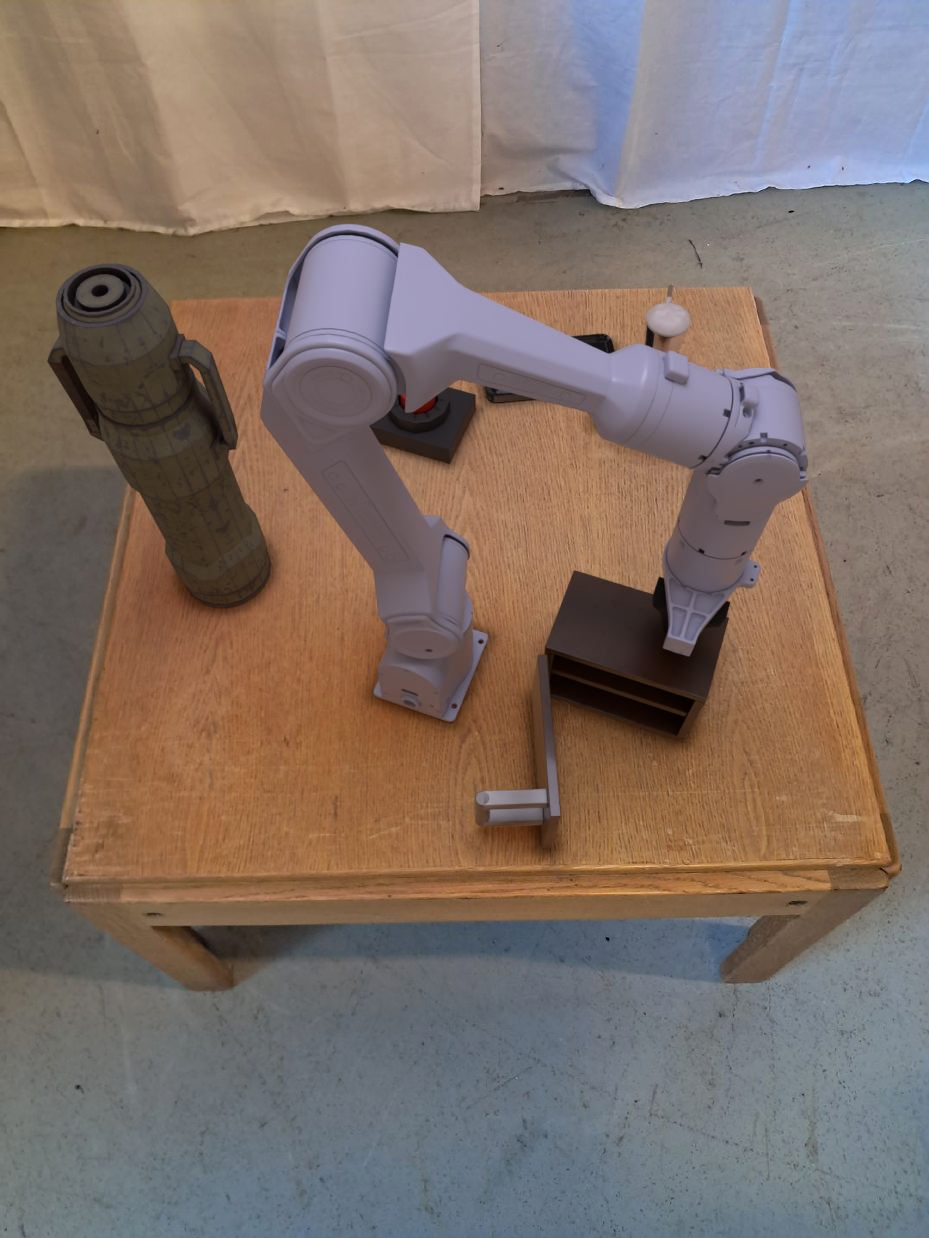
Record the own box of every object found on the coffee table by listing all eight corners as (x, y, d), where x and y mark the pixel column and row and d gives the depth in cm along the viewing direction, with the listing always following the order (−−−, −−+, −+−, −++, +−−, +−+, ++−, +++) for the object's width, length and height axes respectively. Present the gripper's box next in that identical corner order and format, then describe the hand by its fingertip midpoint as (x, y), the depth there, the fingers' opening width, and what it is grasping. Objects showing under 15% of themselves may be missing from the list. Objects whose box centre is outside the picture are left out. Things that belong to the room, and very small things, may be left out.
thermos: (173, 534, 92) (22, 245, 62) (290, 532, 92) (196, 241, 62) (160, 610, 88) (-8, 340, 58) (282, 608, 88) (178, 337, 57)
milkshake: (675, 355, 103) (693, 285, 95) (675, 391, 101) (694, 322, 92) (634, 353, 104) (649, 282, 95) (634, 388, 101) (649, 319, 92)
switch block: (476, 409, 100) (476, 383, 96) (449, 464, 96) (448, 439, 93) (392, 386, 102) (389, 360, 98) (363, 438, 98) (359, 413, 95)
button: (440, 393, 96) (439, 381, 95) (427, 417, 95) (427, 406, 93) (408, 384, 97) (407, 372, 95) (395, 408, 95) (394, 397, 94)
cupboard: (683, 742, 81) (707, 699, 73) (538, 694, 83) (544, 646, 75) (704, 666, 85) (729, 617, 76) (564, 622, 87) (573, 569, 79)
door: (476, 850, 76) (475, 819, 68) (470, 702, 83) (469, 657, 75) (552, 848, 77) (561, 816, 68) (540, 699, 83) (547, 654, 75)
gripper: (754, 628, 59) (708, 710, 71) (796, 462, 66) (747, 562, 78) (649, 596, 61) (621, 681, 73) (700, 436, 67) (667, 539, 79)
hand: (681, 618), depth 75 cm, fingers closed
